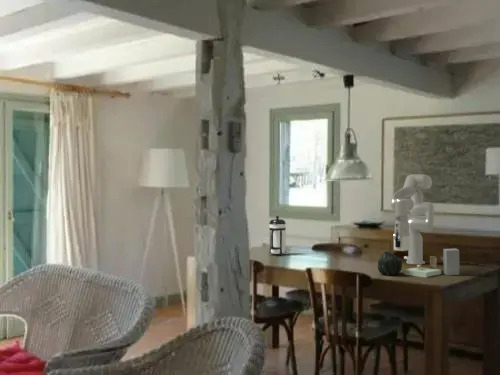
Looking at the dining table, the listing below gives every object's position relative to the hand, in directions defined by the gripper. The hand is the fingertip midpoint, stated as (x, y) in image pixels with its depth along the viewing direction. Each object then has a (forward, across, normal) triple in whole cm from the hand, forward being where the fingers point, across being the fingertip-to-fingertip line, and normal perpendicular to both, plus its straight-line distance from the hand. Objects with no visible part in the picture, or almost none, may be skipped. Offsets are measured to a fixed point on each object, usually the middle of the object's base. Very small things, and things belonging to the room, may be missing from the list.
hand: (401, 246), depth 403 cm
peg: (+16, +11, -16) cm, 25 cm away
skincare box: (+16, +12, -28) cm, 35 cm away
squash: (+16, -15, -2) cm, 22 cm away
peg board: (+16, -1, -16) cm, 23 cm away
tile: (+16, +12, -5) cm, 21 cm away
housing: (+2, 0, 0) cm, 2 cm away
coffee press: (+16, -2, +112) cm, 113 cm away
